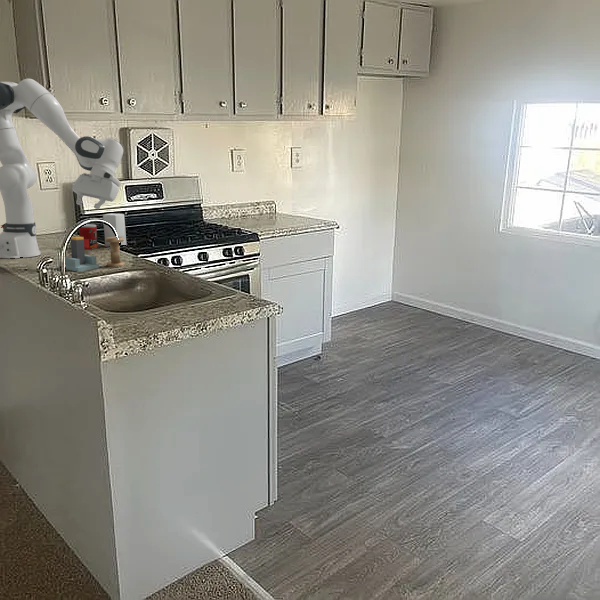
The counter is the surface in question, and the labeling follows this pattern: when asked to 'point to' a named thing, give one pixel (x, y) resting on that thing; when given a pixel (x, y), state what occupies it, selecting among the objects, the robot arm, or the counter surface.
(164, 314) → the counter surface
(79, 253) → the dark grey cylinder
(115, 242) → the bobbin
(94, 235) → the canned food
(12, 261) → the counter surface
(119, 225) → the skincare box
